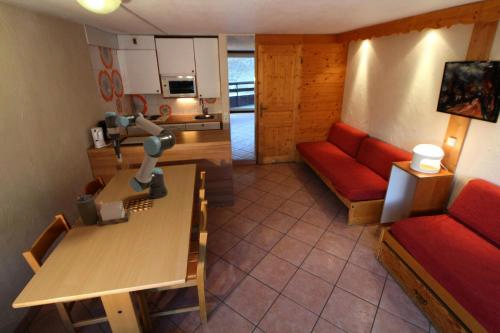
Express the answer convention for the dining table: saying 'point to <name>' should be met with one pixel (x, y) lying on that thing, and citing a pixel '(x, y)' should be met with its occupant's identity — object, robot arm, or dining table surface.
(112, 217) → the carton
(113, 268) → the dining table surface
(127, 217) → the display bay
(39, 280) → the dining table surface
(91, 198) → the canister
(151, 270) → the dining table surface
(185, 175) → the dining table surface
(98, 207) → the brown small blob
